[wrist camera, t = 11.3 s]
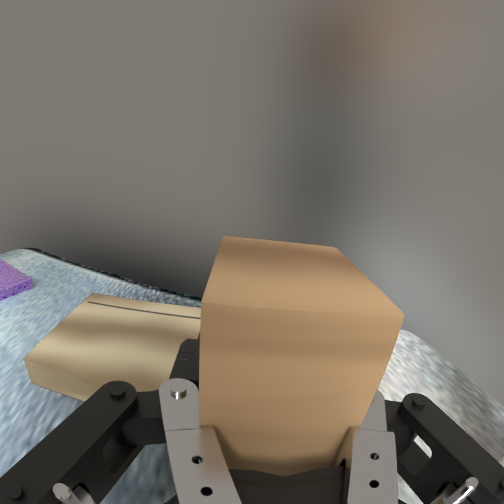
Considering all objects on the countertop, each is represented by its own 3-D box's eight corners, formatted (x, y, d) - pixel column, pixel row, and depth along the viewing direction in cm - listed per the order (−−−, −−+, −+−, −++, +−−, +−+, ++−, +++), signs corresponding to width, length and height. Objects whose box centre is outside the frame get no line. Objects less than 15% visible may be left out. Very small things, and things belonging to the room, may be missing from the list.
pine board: (373, 425, 16) (384, 403, 16) (31, 382, 15) (23, 358, 15) (333, 337, 28) (338, 317, 27) (94, 312, 27) (92, 292, 26)
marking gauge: (298, 525, 9) (405, 314, 6) (202, 523, 9) (200, 302, 6) (272, 340, 27) (291, 208, 23) (223, 336, 26) (234, 202, 23)
